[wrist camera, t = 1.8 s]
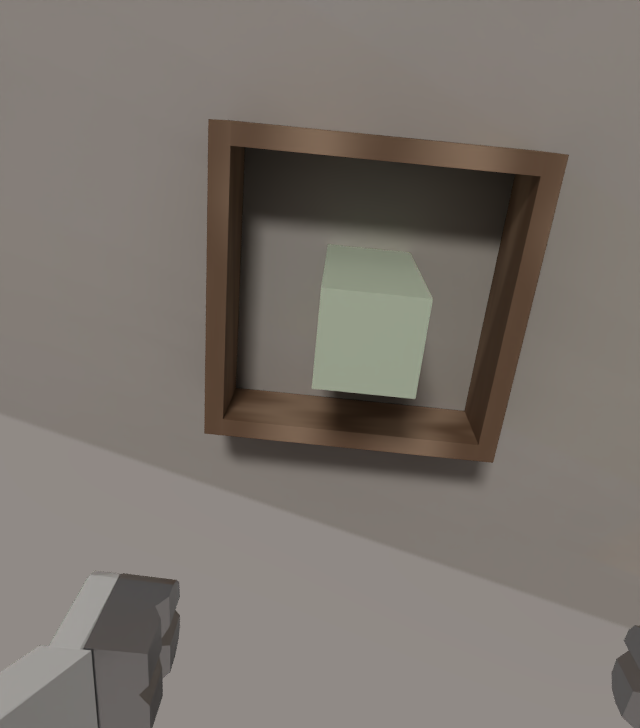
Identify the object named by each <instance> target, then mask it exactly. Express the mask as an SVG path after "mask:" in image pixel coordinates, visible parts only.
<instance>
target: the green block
mask: <svg viewBox="0 0 640 728" xmlns="http://www.w3.org/2000/svg"><path fill="white" fill-rule="evenodd" d="M432 301H433V298H432V296H431V294H430V292H429V290H428V288H427V286H426V284H425V282H424V280H423V278H422V276H421V274H420V272H419V270H418V268H417V266H416V264H415V262H414V260H413V258H412V256H411V254H410V252H400V251H390V250H380V249H370V248H360V247H350V246H340V245H330V244H328V248H327V254H326V260H325V267H324V273H323V279H322V286H321V295H320V306H319V316H318V327H317V338H316V348H315V359H314V370H313V380H312V389H321V390H331V391H341V392H351V393H360V394H370V395H380V396H390V397H400V398H410V399H415V398H416V393H417V387H418V381H419V375H420V370H421V364H422V358H423V353H424V347H425V341H426V335H427V330H428V324H429V318H430V312H431V307H432Z"/></svg>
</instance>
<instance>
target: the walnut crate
mask: <svg viewBox="0 0 640 728" xmlns="http://www.w3.org/2000/svg"><path fill="white" fill-rule="evenodd" d="M245 147H249V148H259V149H269V150H280V151H290V152H300V153H310V154H320V155H330V156H340V157H350V158H360V159H370V160H380V161H391V162H401V163H411V164H421V165H431V166H441V167H451V168H461V169H471V170H481V171H492V172H502V173H512V174H515V178H514V183H513V187H512V192H511V197H510V201H509V206H508V211H507V215H506V220H505V225H504V229H503V234H502V239H501V243H500V248H499V253H498V257H497V262H496V267H495V271H494V276H493V281H492V285H491V290H490V294H489V299H488V304H487V308H486V313H485V318H484V322H483V327H482V332H481V336H480V341H479V346H478V350H477V355H476V360H475V364H474V369H473V374H472V378H471V383H470V388H469V392H468V397H467V402H466V406H465V411H458V410H448V409H439V408H429V407H419V406H409V405H399V404H389V403H379V402H369V401H359V400H349V399H340V398H330V397H320V396H310V395H300V394H290V393H280V392H270V391H260V390H250V389H240V388H236V376H237V349H238V322H239V294H240V267H241V240H242V212H243V185H244V158H245ZM568 156H569V155H566V154H558V153H550V152H543V151H534V150H523V149H513V148H503V147H493V146H483V145H473V144H463V143H453V142H443V141H432V140H422V139H412V138H402V137H392V136H382V135H372V134H362V133H351V132H341V131H331V130H321V129H311V128H301V127H291V126H281V125H271V124H260V123H250V122H240V121H230V120H213V119H209V125H208V201H207V278H206V355H205V432H204V433H206V434H216V435H226V436H235V437H245V438H255V439H265V440H275V441H285V442H295V443H304V444H314V445H324V446H334V447H344V448H354V449H364V450H374V451H383V452H393V453H403V454H413V455H423V456H433V457H443V458H452V459H462V460H472V461H482V462H492V463H493V461H494V457H495V452H496V448H497V444H498V440H499V436H500V432H501V428H502V424H503V420H504V416H505V412H506V408H507V404H508V400H509V396H510V392H511V388H512V383H513V379H514V375H515V371H516V367H517V363H518V359H519V355H520V351H521V347H522V343H523V339H524V335H525V331H526V327H527V323H528V319H529V315H530V310H531V306H532V302H533V298H534V294H535V290H536V286H537V282H538V278H539V274H540V270H541V266H542V262H543V258H544V254H545V250H546V246H547V242H548V237H549V233H550V229H551V225H552V221H553V217H554V213H555V209H556V205H557V201H558V197H559V193H560V189H561V185H562V181H563V177H564V173H565V168H566V164H567V160H568Z"/></svg>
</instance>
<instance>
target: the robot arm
mask: <svg viewBox="0 0 640 728" xmlns="http://www.w3.org/2000/svg"><path fill="white" fill-rule="evenodd" d="M179 597H180V589H179V582H178V581H177V580H172V579H164V578H156V577H148V576H139V575H131V574H124V573H123V574H119V573H111V572H104V571H96V570H95V571H94V572H93V573H92V574H91V575H90V576H89V577H88V578H87V579H86V581H85V583H84V585H83V587H82V588H81V590H80V592H79V593H78V595H77V597H76V599H75V600H74V602H73V604H72V606H71V607H70V609H69V611H68V613H67V615H66V616H65V618H64V620H63V621H62V623H61V625H60V627H59V629H58V630H57V632H56V634H55V635H54V637H53V639H52V641H51V642H50V644H49V646H41V645H39V646H38V647H37V648H35V649H33V650H32V651H31V652H29V653H28V654H26V655H25V656H23V657H22V658H20V659H19V660H17V661H16V662H14V663H13V664H11V665H10V666H8V667H7V668H5V669H4V670H2V671H1V672H0V728H152V727H153V724H154V721H155V718H156V715H157V712H158V708H159V705H160V703H161V699H162V696H163V693H162V692H163V689H162V687H163V685H162V679H163V678H164V677H165V676H166V675H167V674H168V673H170V671H171V668H172V664H173V661H174V658H175V653H176V649H177V644H178V639H179V628H180V615H179V614H178V613H177V612H176V610H175V609H176V606H177V603H178V600H179ZM624 642H625V644H626V646H627V647H628V650H629V651H627V652H626V653H625V654H623V655H622V656H620V657H619V658H617V659H616V662H615V665H614V668H613V671H612V691H613V695H614V699H615V702H616V705H617V707H618V709H619V711H620V714H621V716H622V717H623V718H624V719H625V720H626V721H627V722H628V723H629V724H630V725H631V726H633V727H634V728H640V626H637V625H635V626H634V627H632V628H631V629H630V630H629V631H628V633H627V635H626V638H625V640H624Z"/></svg>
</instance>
